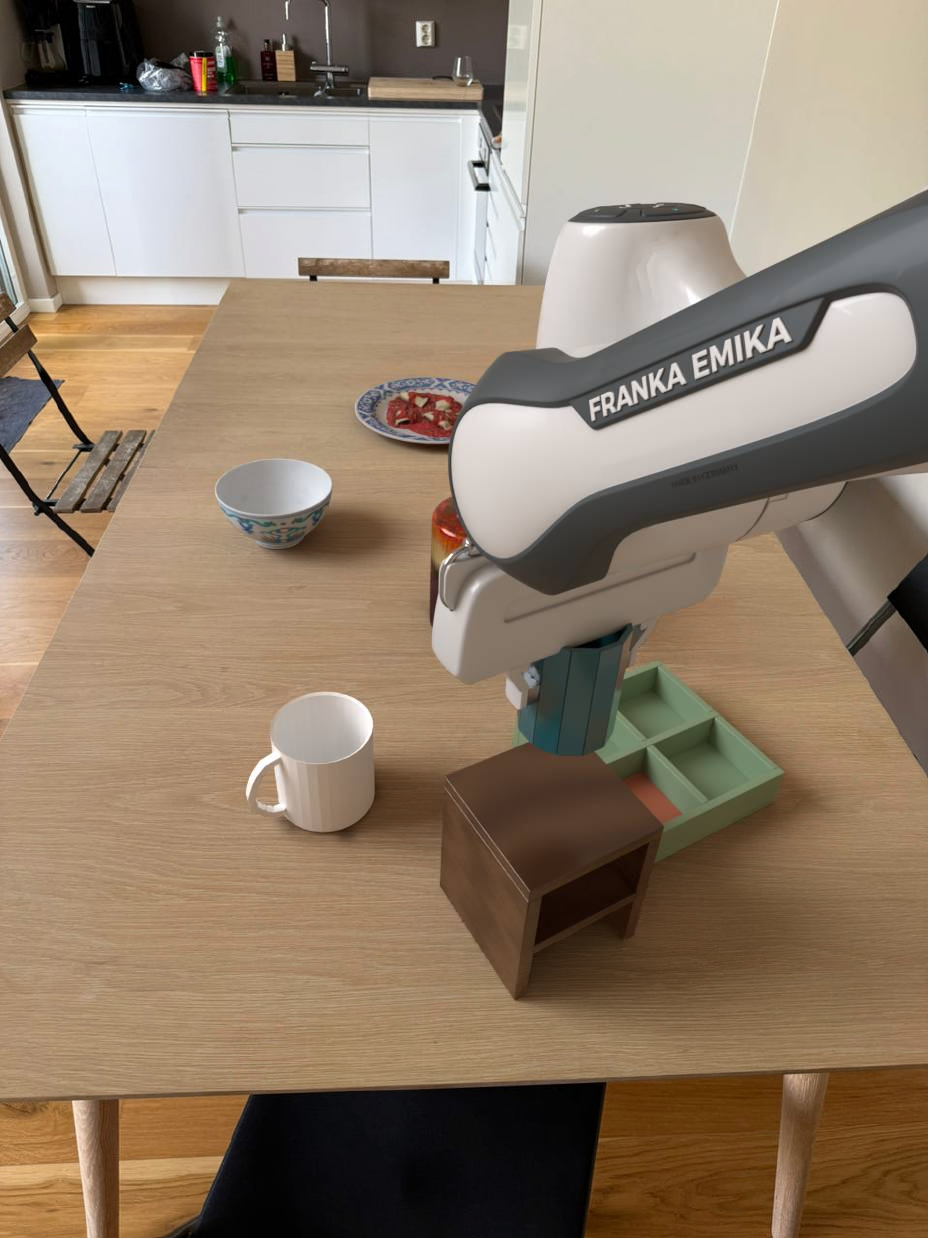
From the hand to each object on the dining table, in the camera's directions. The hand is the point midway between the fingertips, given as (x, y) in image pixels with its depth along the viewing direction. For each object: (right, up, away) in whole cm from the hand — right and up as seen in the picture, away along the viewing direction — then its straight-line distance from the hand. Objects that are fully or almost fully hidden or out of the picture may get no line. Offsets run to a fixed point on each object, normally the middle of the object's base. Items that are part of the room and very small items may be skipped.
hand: (571, 682), depth 60 cm
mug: (-22, -13, +24) cm, 35 cm away
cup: (0, -3, +2) cm, 4 cm away
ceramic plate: (-13, +38, +91) cm, 99 cm away
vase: (-6, +4, +48) cm, 48 cm away
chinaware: (-32, +15, +60) cm, 70 cm away
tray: (+10, -11, +29) cm, 33 cm away
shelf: (-1, -21, +16) cm, 26 cm away
